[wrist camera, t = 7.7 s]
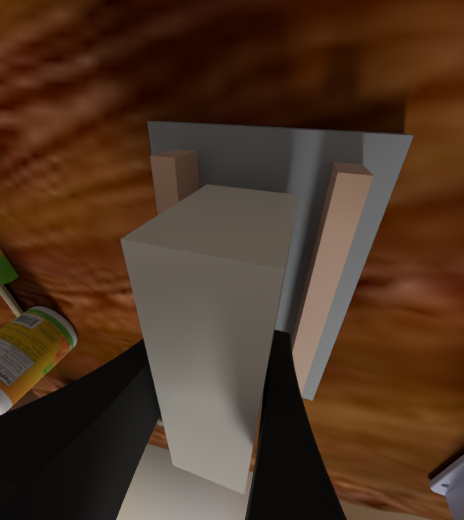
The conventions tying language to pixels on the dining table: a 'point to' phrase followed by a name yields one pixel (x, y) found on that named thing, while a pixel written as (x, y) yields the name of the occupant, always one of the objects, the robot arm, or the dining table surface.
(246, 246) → the beige rectangular block
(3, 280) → the popsicle
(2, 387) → the supplement bottle
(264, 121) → the dining table surface
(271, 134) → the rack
